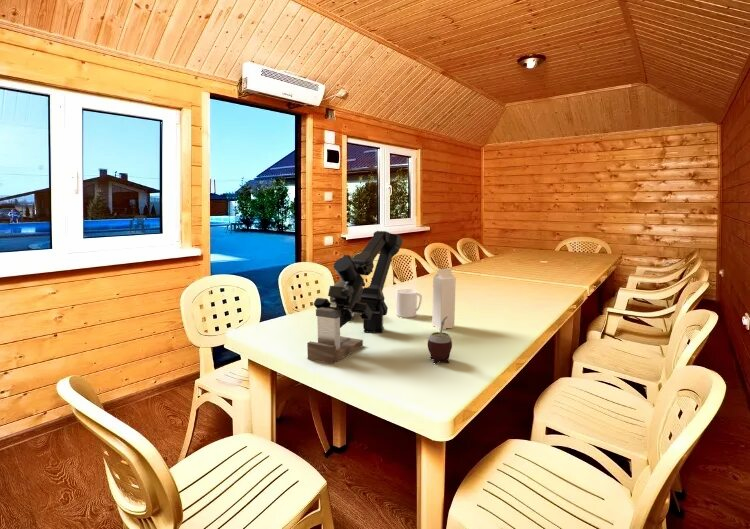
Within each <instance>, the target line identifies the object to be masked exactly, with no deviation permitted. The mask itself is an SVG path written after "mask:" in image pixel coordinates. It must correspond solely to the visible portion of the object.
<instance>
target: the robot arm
mask: <svg viewBox="0 0 750 529" xmlns="http://www.w3.org/2000/svg"><path fill="white" fill-rule="evenodd" d="M402 245H403V238H402V237H401V235H400V234H398V233H391V232H389V231H385V230H376V231H374V232H373V235H372V238H371V239H370V240H369V241H368V243H367V244H366V245H365V247H364V248H363V249H362V251H361V252H358V253H357V254H354V255H353V256H351V255H350V254H344V255H343V257H340V258H338V259H337V260H336V261H335V262H334V263H333V268H334V270H335V272H336V273H337V276H338V277H339V278H340V280H342V281H345V282H344V284H343V287H339V286H334V285H330V286H329V289H328V293H327V296H328V297H330V296H331V297H333V299H332V300H333V301H334V302H336V303H332V302H331V303H330V299H328V298H323V297H318V298H316V299H315V300H314V302H313V306H315V308H316V309H318V308H321V307H323V308H330V309H338V310H341V317H340V329H341V328H342V327H343V326H345V325H346V324H347V323H348V322H350V321H353V320H354V319H355V318H354V316H355V314H360V315H359V316H360V318H361V319H362V321H363V322H362V323H363V332H364V333H378V334H380V333H383V330H384V328H385V326H384V316H387V314H388V308H389V307H388V305H387V304H386V302H385V296H384V292H383V290H384V286H385V283H386V280H387V276H388V273H389V269H390V266H391V264H392V263H391V262H392V260H393V258H394V257H395V255H397V254H398V253H399V251H400V249H401V247H402ZM378 255H379V256H378ZM377 256H378V259H377V262H376V265H374V260H375V259H376V257H377ZM374 267H375V269H374ZM373 269H374V271H373ZM372 272H373V275H372V278H371V281H370V284H369V285H368V287H366V282H365V279H364V278H363V276H369V275H371V273H372ZM361 287H363V291H362V294H361V296H360V300H359V297H358V294H359V291H360V289H361ZM358 300H359V303H358V302H357V303H355V301H358ZM354 304H355V305H354Z"/></svg>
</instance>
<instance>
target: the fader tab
mask: <svg viewBox="0 0 750 529" xmlns="http://www.w3.org/2000/svg"><path fill="white" fill-rule="evenodd" d="M315 317H316V318H317V320H316V321H317V343H323V344H328V345H334V346H336V350H338V349H340V336H341V328H340V317H341V310H338V309H330V308H323V307H321V308H318V309H317V308H316V309H315Z"/></svg>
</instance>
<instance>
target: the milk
mask: <svg viewBox="0 0 750 529" xmlns="http://www.w3.org/2000/svg"><path fill="white" fill-rule="evenodd" d="M432 278H433V279H432V282H433V284H432V324H431V325H433V326H432V327H434V326H435V327H434V328H436V327H437V328H436V329H438V328H439V329H438V330H440V329H441V323H442V321H443V319H444V318H445V317H447V318H446V320H445V321H444V325H443V329H444V330H447V329H446V328H452V327H454V328H455V319H456V318H455V316H456V315H455V314H456V313H455V312H456V281H457V280H456V276H455V275H454V274H453V272H452V268H439V269H437V273H436V274H435V275H434V276H433V277H432ZM452 329H453V328H452Z"/></svg>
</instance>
